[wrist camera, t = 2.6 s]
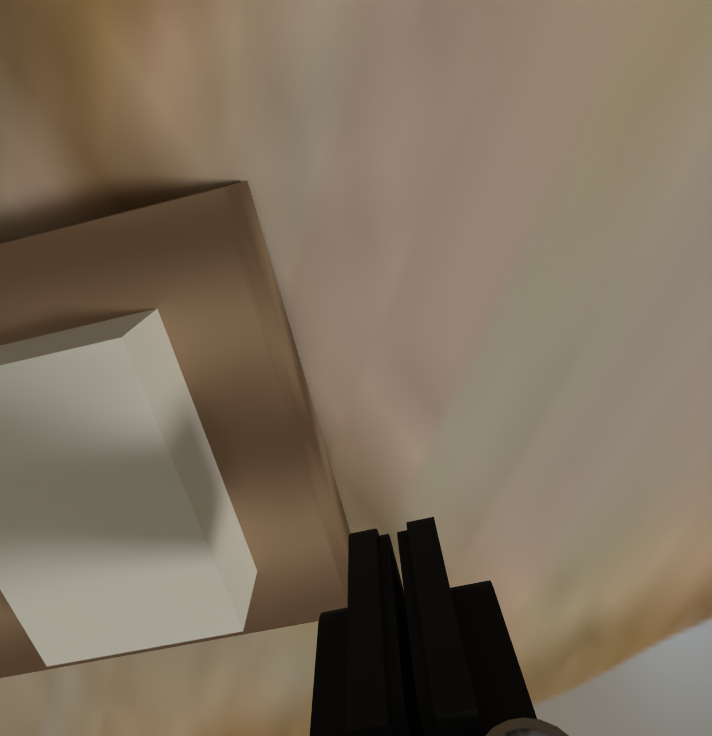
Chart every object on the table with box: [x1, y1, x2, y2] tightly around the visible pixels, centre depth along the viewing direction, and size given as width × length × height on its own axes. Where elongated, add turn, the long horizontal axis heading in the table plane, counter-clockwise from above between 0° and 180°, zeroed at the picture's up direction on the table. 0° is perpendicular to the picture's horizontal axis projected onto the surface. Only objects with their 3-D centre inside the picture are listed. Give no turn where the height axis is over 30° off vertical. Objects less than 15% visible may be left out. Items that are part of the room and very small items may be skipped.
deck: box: [0, 180, 351, 678], centre depth 19 cm, size 14×14×4 cm
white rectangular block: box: [0, 309, 257, 667], centre depth 15 cm, size 9×6×2 cm, turn 13°
